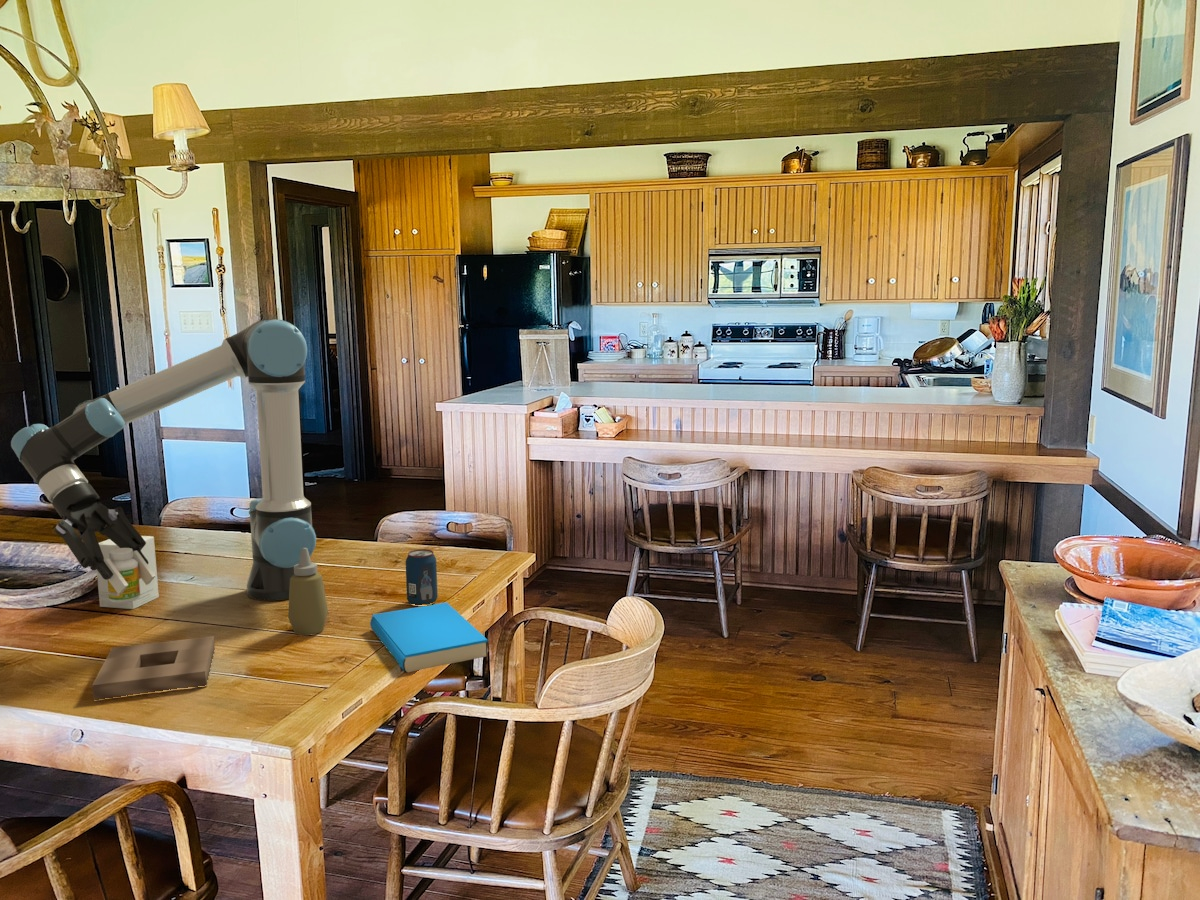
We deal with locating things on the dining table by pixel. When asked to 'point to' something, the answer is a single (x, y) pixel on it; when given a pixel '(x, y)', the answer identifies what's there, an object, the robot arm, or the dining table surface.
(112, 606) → the supplement box
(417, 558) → the soda can
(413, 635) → the book
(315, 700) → the dining table surface
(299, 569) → the squeeze bottle
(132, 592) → the supplement bottle
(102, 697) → the socket stand
